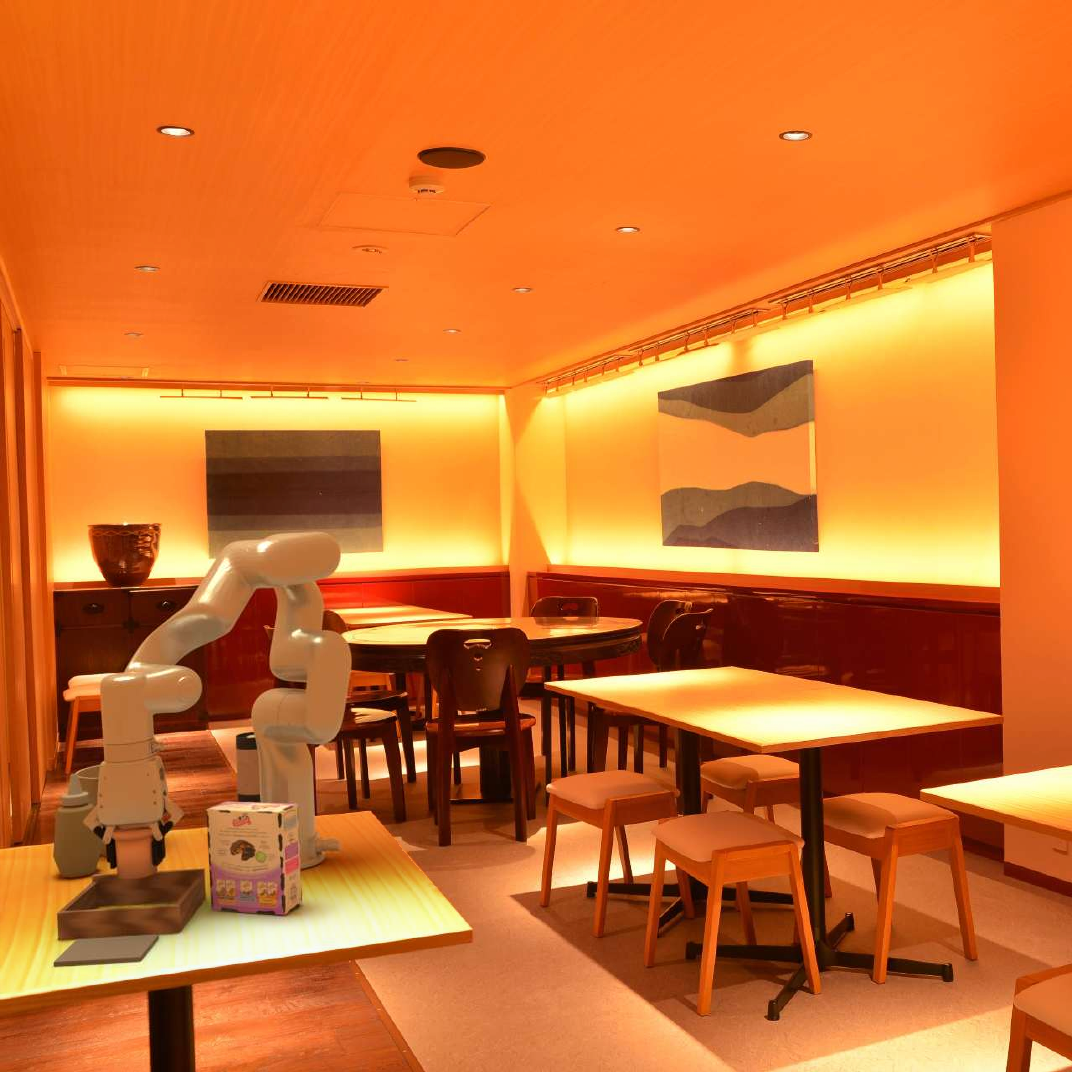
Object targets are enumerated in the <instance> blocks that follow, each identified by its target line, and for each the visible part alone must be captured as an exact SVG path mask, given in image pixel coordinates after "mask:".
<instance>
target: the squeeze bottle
mask: <svg viewBox="0 0 1072 1072" xmlns="http://www.w3.org/2000/svg"><path fill="white" fill-rule="evenodd" d="M60 798H61V799H60V803H61V804H60V805H61V806H60V807H58V808H57V810H56V811H55V824H54V838H53V839H54V840H53V853H52V855H53V856H52V857H53V860H54V862H55V864H56V867H57V869H58V870H57V871H58V872H59V874H60V877H62V878H70V879H71V878H82V877H85V876H89V875H91V874H94V872H96V870H97V868H98V867H97V866H98V865H99V859H100V857H101V854H100V853H101V846H100V839H99V837H98V836H97V835H96V834H95V833H94V832H93V830H91V829H90V828H88V827H87V826H86V825H85V824H84V823H83V820H84V819H85V818H86V817H87V815H88V814H89V813H90V812H91V811H92V810H93V809H94V806H93V805H92V804H90V803H88V802H89V793H88V792H83V791H82V788H81V784H80V781H79V777H78V774H76V773H71V774H70V777H69V782H68V787H67V793H64V794H62V795H61V796H60Z"/></svg>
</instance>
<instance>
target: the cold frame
mask: <svg viewBox="0 0 1072 1072" xmlns="http://www.w3.org/2000/svg"><path fill="white" fill-rule="evenodd" d="M205 870H206V869H205V868H195V869H194V868H193V869H191V868H190V869H172V870H171V869H170V870H157V872H156V873H154V874H152V875H150V876H147V877H143V878H138V879H120V878H118V877H117V872H116V873H99V874H93V875H91V879H92V882H91V883H90V884H89V885H87V886H86V887H85V888H84V889H83V890H82V891H80V892H79V893H78V894H76V896H75V897H74V898H73V899H71V900H70V901H69V902H68V903H67V904H66V905H64V906H63V907H62V908H61V909H60V910H59V911H58V912H56V920H57V921H56V924H57V926H56V927H57V940H58V941H61V940H62V941H63V940H77V939H90V938H107V937H125V936H142V935H165V934H166V935H167V934H180V933H181V932H182V931H183V929H184V928H185V926H186V925H188V923H189V921H190V920H191V919H192V918H193V917H194V915H195V913H197V911H198V910H199V908H200V907H201V906H202V904H203V903H204V902H205V901H206V899H207V893H206V892H207V891H206V871H205ZM164 903H165V904H166V903H175V904H168V905H167V904H166V905H152V906H150V904H164ZM147 904H149V906H133V905H147ZM125 905H127V906H128V905H130V906H131V905H132V906H133V907H115V908H114V907H113V906H125ZM108 906H110V907H111V906H112V907H113V908H98V907H108ZM97 908H98V909H97Z"/></svg>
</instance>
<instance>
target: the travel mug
mask: <svg viewBox="0 0 1072 1072" xmlns="http://www.w3.org/2000/svg"><path fill="white" fill-rule="evenodd" d="M235 752H236V753H235V757H236V758H235V759H236V785H237V789H236V790H237V802H254V803H261V799H260V771H259V757H258V749H257V743H256V739H255V735H254V731H249V732H241V733H238V734H236V736H235Z"/></svg>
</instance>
